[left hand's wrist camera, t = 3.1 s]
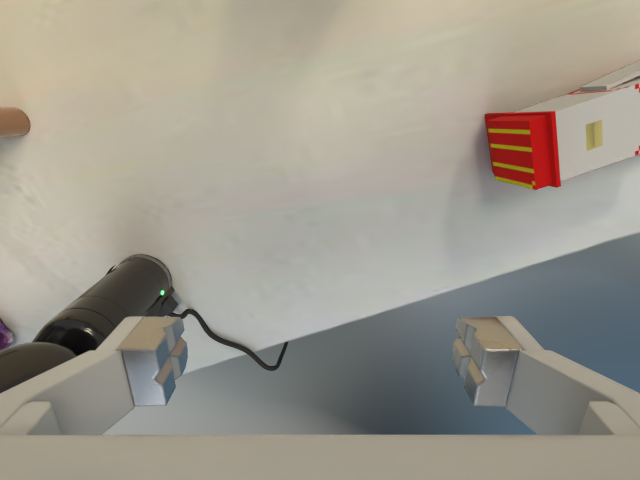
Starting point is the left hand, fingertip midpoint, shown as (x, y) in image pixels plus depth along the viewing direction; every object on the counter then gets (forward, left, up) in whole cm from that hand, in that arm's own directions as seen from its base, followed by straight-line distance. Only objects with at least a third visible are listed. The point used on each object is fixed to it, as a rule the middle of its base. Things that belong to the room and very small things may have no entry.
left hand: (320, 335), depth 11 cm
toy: (-5, +39, -48) cm, 62 cm away
